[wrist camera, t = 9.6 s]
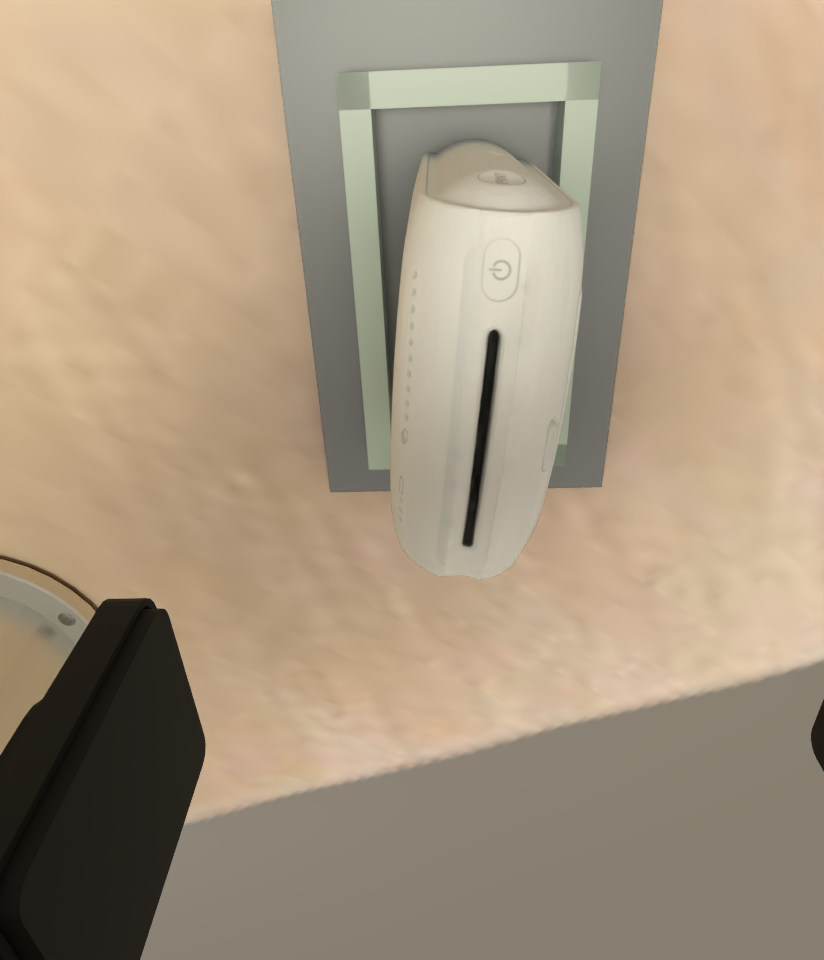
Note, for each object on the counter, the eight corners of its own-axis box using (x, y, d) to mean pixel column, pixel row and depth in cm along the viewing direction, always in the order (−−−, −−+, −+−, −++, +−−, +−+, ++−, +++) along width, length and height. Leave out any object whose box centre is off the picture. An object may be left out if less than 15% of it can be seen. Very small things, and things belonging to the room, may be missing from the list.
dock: (596, 475, 31) (609, 505, 28) (333, 480, 31) (325, 511, 29) (656, -17, 21) (681, -26, 19) (277, 2, 22) (260, -5, 20)
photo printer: (413, 129, 23) (395, 185, 12) (541, 138, 23) (634, 201, 12) (398, 408, 28) (377, 614, 17) (501, 415, 28) (543, 625, 17)
